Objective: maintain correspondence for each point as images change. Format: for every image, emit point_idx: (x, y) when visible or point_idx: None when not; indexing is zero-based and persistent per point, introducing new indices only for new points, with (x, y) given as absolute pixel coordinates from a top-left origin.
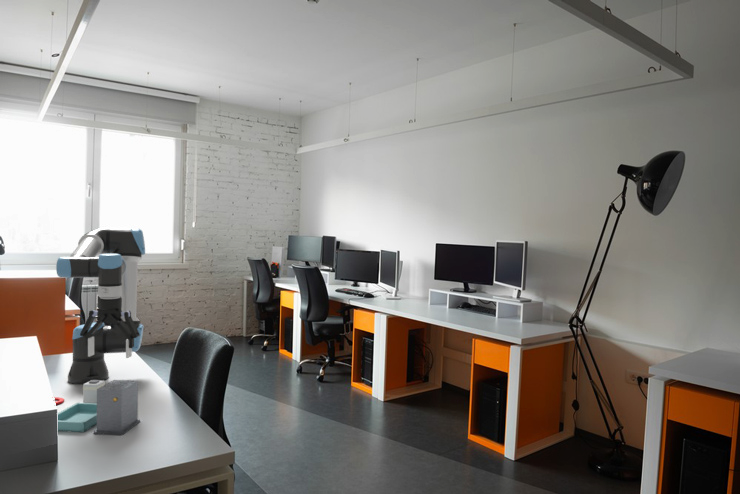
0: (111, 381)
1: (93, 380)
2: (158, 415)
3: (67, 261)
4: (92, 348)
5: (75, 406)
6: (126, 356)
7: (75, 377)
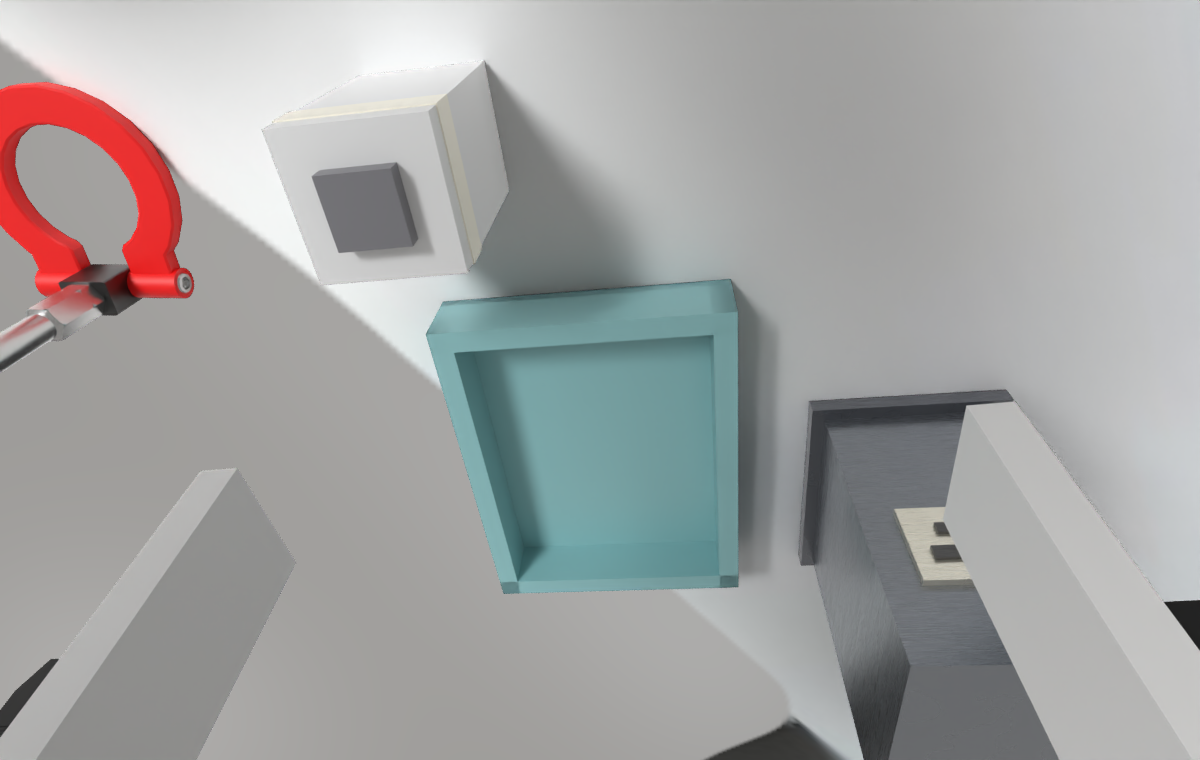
0: (905, 698)
1: (343, 200)
2: (1119, 261)
3: None
4: (199, 624)
5: (463, 373)
6: (965, 539)
7: None
